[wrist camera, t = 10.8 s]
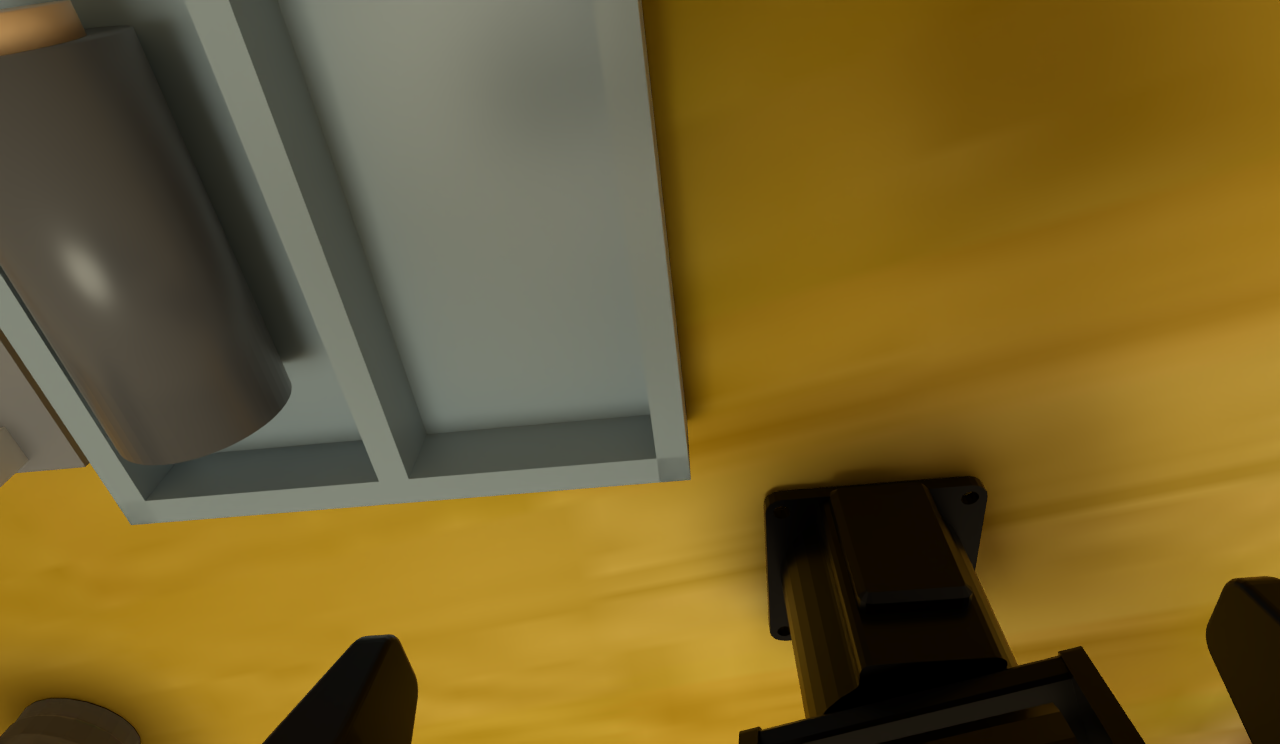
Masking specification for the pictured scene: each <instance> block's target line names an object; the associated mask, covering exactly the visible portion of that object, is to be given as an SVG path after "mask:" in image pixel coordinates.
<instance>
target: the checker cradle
mask: <svg viewBox="0 0 1280 744" xmlns="http://www.w3.org/2000/svg"><path fill="white" fill-rule="evenodd" d="M88 464H89V461H88V459H87V458H86V456H85V455H84V453H83V452H82V450H81V449H80V447H79V446H78V444H77V443H76V441H75V440H74V438H73V437H72V435H71V434H70V432H69V431H68V429H67V428H66V426H65V425H64V423H63V422H62V420H61V419H60V417H59V416H58V414H57V412H56V411H55V409H54V408H53V406H52V405H51V403H50V402H49V400H48V399H47V397H46V396H45V394H44V393H43V391H42V390H41V388H40V387H39V385H38V384H37V382H36V381H35V379H34V378H33V376H32V375H31V373H30V372H29V370H28V369H27V367H26V366H25V364H24V363H23V361H22V360H21V358H20V357H19V355H18V354H17V352H16V351H15V349H14V348H13V346H12V345H11V343H10V342H9V340H8V339H7V337H6V336H5V334H4V333H3V331H2V330H1V328H0V487H1V486H2V485H3V484H4V483H5V482H6V481H7V480H8V479H10V478H11V477H12V476H13V475H14V474H15V473H21V472H32V471H44V470H55V469H67V468H78V467H86V466H87V465H88Z"/></svg>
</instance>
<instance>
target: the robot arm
mask: <svg viewBox="0 0 1280 744" xmlns="http://www.w3.org/2000/svg"><path fill="white" fill-rule="evenodd" d="M967 492H971V493H970V494H968V495H964V494H965V493H967ZM986 503H987V491H986V489H985V487H984V485H983V484H982V482H981V481H980V480H979V479H978V478H976V477H971V476H964V477H952V478H939V479H926V480H913V481H901V482H888V483H875V484H863V485H850V486H837V487H825V488H812V489H799V490H787V491H778V492H773V493H772V494H770V495H768V496H767V498H766V499H765V501H764V525H765V549H766V572H767V595H768V618H769V628H770V633H771V636H772V637H774V638H775V639H778V640H784V641H787V640H792V644H793V650H794V655H795V661H796V667H797V672H798V678H799V683H800V689H801V695H802V700H803V706H804V711H805V717H806V719H803V720H799V721H795V722H791V723H787V724H783V725H779V726H775V727H771V728H767V729H763V730H762V729H761V728H760V727H756V728H752V729H748V730H744V731H740V732H739V744H1145V742H1144V741H1143V739H1142V738H1141V736H1140V735H1139V733H1138V732H1137V730H1136V728H1135V727H1134V725H1133V724H1132V722H1131V721H1130V719H1129V718H1128V716H1127V715H1126V713H1125V712H1124V710H1123V709H1122V707H1121V706H1120V704H1119V703H1118V701H1117V699H1116V698H1115V696H1114V695H1113V693H1112V692H1111V690H1110V689H1109V687H1108V686H1107V684H1106V683H1105V681H1104V680H1103V678H1102V677H1101V675H1100V674H1099V672H1098V670H1097V669H1096V667H1095V666H1094V664H1093V663H1092V661H1091V660H1090V658H1089V657H1088V655H1087V654H1086V652H1085V651H1084V649H1083V648H1082V646H1079V647H1075V648H1071V649H1067V650H1063V651H1059V652H1058V655H1059V656H1055V657H1051V658H1047V659H1043V660H1039V661H1035V662H1031V663H1027V664H1023V665H1019V666H1018V664H1017V662H1016V660H1015V658H1014V656H1013V653H1012V651H1011V649H1010V647H1009V645H1008V643H1007V640H1006V638H1005V636H1004V634H1003V632H1002V629H1001V627H1000V625H999V623H998V621H997V619H996V616H995V614H994V612H993V610H992V608H991V605H990V603H989V601H988V599H987V597H986V595H985V592H984V590H983V588H982V586H981V584H980V581H979V579H978V577H977V575H976V573H975V567H976V561H977V555H978V549H979V544H980V538H981V532H982V526H983V520H984V514H985V509H986ZM780 506H785V507H786V508H784V509H781V510H780V509H776V508H777V507H780ZM1206 641H1207V645H1208V649H1209V652H1210V654H1211V656H1212V658H1213V661H1214V663H1215V665H1216V667H1217V669H1218V671H1219V673H1220V676H1221V678H1222V680H1223V682H1224V684H1225V686H1226V689H1227V691H1228V693H1229V695H1230V697H1231V699H1232V701H1233V704H1234V706H1235V708H1236V710H1237V712H1238V714H1239V716H1240V719H1241V721H1242V723H1243V725H1244V727H1245V729H1246V732H1247V734H1248V736H1249V738H1250V740H1251V742H1252V744H1280V579H1278V578H1275V577H1268V576H1262V577H1247V578H1235V579H1232V580H1230V581H1229V582H1227V583H1226V585H1225V586H1224V588H1223V590H1222V592H1221V595H1220V597H1219V599H1218V602H1217V604H1216V606H1215V608H1214V611H1213V613H1212V615H1211V618H1210V620H1209V622H1208V624H1207V628H1206ZM417 699H418V684H417V679H416V676H415V673H414V671H413V669H412V667H411V665H410V662H409V660H408V658H407V656H406V653H405V651H404V649H403V647H402V645H401V643H400V641H399V639H398V638H397V637H395V636H394V635H374V636H365V637H361V638H359V639H358V640H356V641H355V642H354V643H353V644H352V645H351V646H350V647H349V648H348V649H347V650H346V651H345V653H344V654H343V655H342V656H341V657H340V658H339V659H338V660H337V661H336V662H335V664H334V665H333V666H332V667H331V668H330V669H329V670H328V671H327V672H326V674H325V675H324V676H323V677H322V678H321V679H320V680H319V681H318V682H317V683H316V685H315V686H314V687H313V688H312V689H311V690H310V691H309V692H308V693H307V695H306V696H305V697H304V698H303V699H302V700H301V701H300V702H299V703H298V704H297V706H296V707H295V708H294V709H293V710H292V711H291V712H290V713H289V714H288V716H287V717H286V718H285V719H284V720H283V721H282V722H281V723H280V724H279V725H278V727H277V728H276V729H275V730H274V731H273V732H272V733H271V734H270V735H269V737H268V738H267V739H266V740H265V741H264V742H263V743H262V744H411V742H412V735H413V728H414V721H415V713H416V706H417Z"/></svg>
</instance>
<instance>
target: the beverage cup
mask: <svg viewBox="0 0 1280 744" xmlns="http://www.w3.org/2000/svg"><path fill="white" fill-rule="evenodd" d="M0 744H140V737H139V735H138V734H137V732H136V731H135V729H134V728H133V727H132V726H131V725H130V724H129V723H128V722H126V721H125V720H124V719H123V718H122V717H120V716H118V715H116V714H114V713H113V712H111V711H109V710H107V709H105V708H102V707H99V706H96V705H93V704H90V703H88V702H82V701H77V700H72V699H46V700H41V701H37V702H34V703H33V704H31V705H30V706H28V707H27V708H25V710H24V711H23V712H22V714H21V715H20V716H19V718H18V719H17V720H16V722H15V723H13V724H12V725H11V726H10V727H9V728H8V729H7V730H6V731H5V732H4V733H3V734H2V735H1V737H0Z"/></svg>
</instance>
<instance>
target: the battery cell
mask: <svg viewBox="0 0 1280 744" xmlns="http://www.w3.org/2000/svg"><path fill="white" fill-rule="evenodd" d="M0 265H1V267H2V269H3V270H4V272H5V273H6V275H7V277H8V278H9V280H10V281H11V283H12V284H13V286H14V288H15V289H16V291H17V292H18V294H19V296H20V297H21V299H22V300H23V302H24V303H25V305H26V307H27V308H28V310H29V311H30V313H31V315H32V316H33V318H34V319H35V321H36V322H37V324H38V326H39V327H40V329H41V330H42V332H43V334H44V335H45V337H46V338H47V340H48V341H49V343H50V345H51V346H52V348H53V349H54V351H55V353H56V354H57V356H58V357H59V359H60V360H61V362H62V364H63V365H64V367H65V368H66V370H67V372H68V373H69V375H70V376H71V378H72V379H73V381H74V383H75V384H76V386H77V387H78V389H79V391H80V392H81V394H82V395H83V397H84V398H85V400H86V402H87V403H88V405H89V406H90V408H91V410H92V411H93V413H94V414H95V416H96V417H97V419H98V421H99V422H100V424H101V425H102V427H103V429H104V430H105V432H106V433H107V435H108V436H109V438H110V440H111V441H112V443H113V444H114V446H115V448H116V449H117V451H118V452H119V454H120V455H121V456H122V457H123V458H124V459H126V460H128V461H130V462H133V463H136V464H141V465H168V464H175V463H180V462H185V461H189V460H193V459H197V458H200V457H203V456H206V455H209V454H212V453H215V452H217V451H220V450H222V449H225V448H227V447H229V446H231V445H233V444H235V443H237V442H239V441H241V440H243V439H245V438H246V437H248V436H250V435H251V434H253V433H254V432H256V431H258V430H259V429H260V428H262V427H263V426H265V425H266V424H267V423H268V422H270V421H271V420H272V419H273V418H274V417H275V416H276V415H277V414H278V413H279V412H280V411H281V410H282V409H283V407H284V406H285V405H286V403H287V401H288V399H289V398H290V395H291V391H292V385H291V381H290V379H289V377H288V374H287V372H286V370H285V368H284V365H283V363H282V361H281V359H280V356H279V354H278V352H277V350H276V347H275V345H274V343H273V341H272V338H271V336H270V334H269V332H268V329H267V327H266V325H265V323H264V320H263V318H262V316H261V314H260V311H259V309H258V307H257V305H256V302H255V300H254V298H253V296H252V293H251V291H250V289H249V287H248V284H247V282H246V280H245V278H244V275H243V273H242V271H241V269H240V266H239V264H238V262H237V260H236V257H235V255H234V253H233V251H232V248H231V246H230V244H229V242H228V239H227V237H226V235H225V233H224V230H223V228H222V226H221V224H220V221H219V219H218V217H217V215H216V212H215V210H214V208H213V206H212V203H211V201H210V199H209V197H208V194H207V192H206V190H205V188H204V185H203V183H202V181H201V179H200V176H199V174H198V172H197V170H196V167H195V165H194V163H193V161H192V159H191V156H190V154H189V152H188V150H187V147H186V145H185V143H184V141H183V138H182V136H181V134H180V132H179V129H178V127H177V125H176V123H175V120H174V118H173V116H172V114H171V111H170V109H169V107H168V105H167V102H166V100H165V98H164V96H163V93H162V91H161V89H160V87H159V84H158V82H157V80H156V78H155V75H154V73H153V71H152V69H151V66H150V64H149V62H148V60H147V57H146V55H145V53H144V51H143V48H142V46H141V44H140V42H139V39H138V37H137V35H136V33H135V30H134V28H133V26H130V25H118V26H106V27H97V28H89V29H84V28H83V26H82V24H81V21H80V19H79V17H78V15H77V13H76V11H75V9H74V7H73V5H72V3H71V1H70V0H63V1H54V2H46V3H38V4H31V5H25V6H18V7H12V8H5V9H0Z"/></svg>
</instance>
